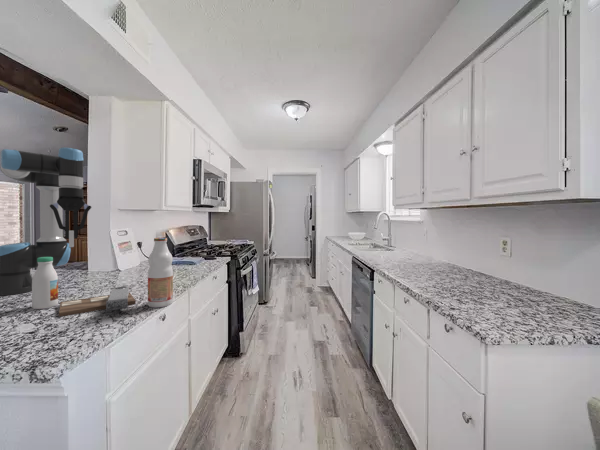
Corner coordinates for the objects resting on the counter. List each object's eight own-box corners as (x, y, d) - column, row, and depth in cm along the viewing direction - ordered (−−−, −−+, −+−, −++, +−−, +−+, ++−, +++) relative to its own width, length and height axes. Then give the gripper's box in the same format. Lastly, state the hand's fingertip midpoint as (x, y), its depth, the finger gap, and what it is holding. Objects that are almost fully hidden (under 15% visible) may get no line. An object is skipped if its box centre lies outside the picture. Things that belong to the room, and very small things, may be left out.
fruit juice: (157, 309, 107) (157, 239, 106) (142, 305, 111) (142, 238, 110) (177, 303, 115) (178, 237, 115) (163, 299, 119) (163, 237, 119)
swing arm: (112, 294, 119) (112, 287, 119) (129, 292, 123) (129, 285, 123) (106, 310, 98) (106, 302, 98) (127, 308, 102) (127, 299, 102)
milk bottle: (42, 310, 104) (41, 259, 104) (26, 309, 106) (26, 258, 105) (63, 304, 112) (63, 256, 111) (48, 303, 113) (48, 255, 113)
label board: (60, 305, 110) (60, 301, 110) (129, 295, 125) (129, 291, 125) (59, 316, 98) (59, 311, 98) (135, 304, 113) (135, 299, 113)
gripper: (91, 189, 115) (91, 245, 115) (49, 187, 106) (49, 246, 107) (92, 188, 109) (92, 246, 109) (48, 185, 100) (48, 248, 101)
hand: (71, 246), depth 108 cm, fingers closed
